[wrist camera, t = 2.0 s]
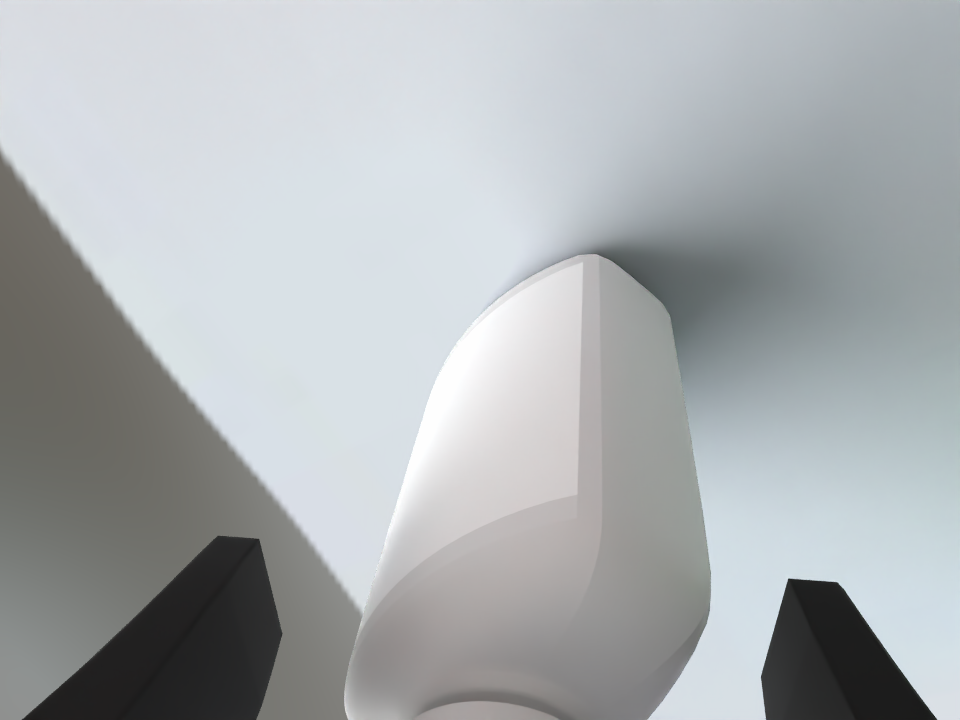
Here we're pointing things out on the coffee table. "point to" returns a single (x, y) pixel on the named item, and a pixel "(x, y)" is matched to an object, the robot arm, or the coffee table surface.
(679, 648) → the eye dropper bottle
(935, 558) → the coffee table surface
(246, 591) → the robot arm
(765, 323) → the coffee table surface
